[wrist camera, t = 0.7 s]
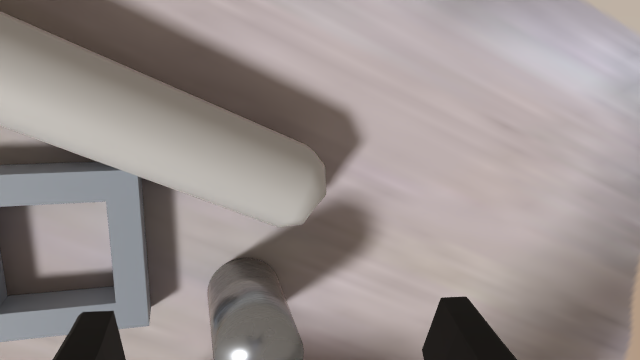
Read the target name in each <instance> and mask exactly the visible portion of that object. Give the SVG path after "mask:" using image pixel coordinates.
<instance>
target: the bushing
mask: <svg viewBox="0 0 640 360" xmlns="http://www.w3.org/2000/svg"><path fill="white" fill-rule="evenodd" d="M207 295H208V305H209V316H210V326H211V337H212V347H213V358H214V360H303V354H304V351H303V344H302V341H301V338H300V336H299V333H298V331H297V328H296V325H295V323H294V320H293V317H292V315H291V312H290V309H289V307H288V304H287V302H286V299H285V296H284V294H283V291H282V288H281V286H280V283H279V280H278V278H277V275H276V273H275V272H274V270H273V269H272V268H271V267H270V266H269V265H267V264H266V263H264V262H263V261H260V260H258V259H253V258H240V259H236V260H232V261H230V262H228V263H226V264H224V265H223V266H221V267H220V268H219V269H218V270H217V271H216V272H215V273H214V275H213V276H212V278H211V280H210V282H209V285H208V293H207Z"/></svg>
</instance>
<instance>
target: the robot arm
mask: <svg viewBox="0 0 640 360" xmlns="http://www.w3.org/2000/svg"><path fill="white" fill-rule="evenodd" d="M422 352H423V357H424V360H517V359H516V358H515V357H514V355H513V354H512V353H511V352H510V351H509V349H508V348H507V347H506V346H505V344H504V343H503V342H502V341H501V339H500V338H499V337H498V336H497V334H496V333H495V332H494V331H493V329H492V328H491V327H490V326H489V324H488V323H487V322H486V321H485V319H484V318H483V317H482V316H481V314H480V313H479V312H478V310H477V309H476V308H475V307H474V305H473V304H472V303H471V302H470V300H469V299H468V298H467V297H447V298H441V299H440V302H439V305H438V308H437V310H436V313H435V316H434V319H433V321H432V324H431V327H430V330H429V332H428V335H427V338H426V341H425V343H424V346H423V349H422ZM53 360H126V359H125V355H124V351H123V347H122V343H121V339H120V334H119V330H118V326H117V322H116V318H115V314H114V311H92V312H82V313H81V314H80V315H78V317H77V319H76V321H75V323H74V324H73V326H72V328H71V330H70V332H69V333H68V335H67V337H66V338H65V340H64V342H63V344H62V345H61V347H60V349H59V350H58V352H57V353H56V355H55V357H54V358H53Z"/></svg>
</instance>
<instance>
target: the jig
mask: <svg viewBox="0 0 640 360" xmlns="http://www.w3.org/2000/svg"><path fill="white" fill-rule="evenodd" d="M103 201H106V204H107V215H108V226H109V236H110V247H111V257H112V268H113V279H114V286H113V287H101V288H90V289H79V290H68V291H57V292H45V293H34V294H23V295H12V296H8V295H7V289H6V283H5V277H4V270H3V264H2V258H1V251H0V342H5V341H14V340H23V339H32V338H41V337H51V336H60V335H68V333H69V332H70V330H71V328H72V326H73V324H74V323H75V321H76V319H77V317H78V315H80V314H81V313H82V312H92V311H114V314H115V318H116V322H117V326H118V329H124V328H134V327H143V326H149V320H150V311H151V303H150V289H149V275H148V261H147V248H146V234H145V220H144V207H143V193H142V179H141V177H139V176H136V175H133V174H130V173H128V172H125V171H122V170H119V169H117V168H114V167H111V166H108V165H106V164H103V163H100V162H73V163H43V164H13V165H0V207H6V206H25V205H45V204H64V203H84V202H103Z"/></svg>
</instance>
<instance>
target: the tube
mask: <svg viewBox="0 0 640 360" xmlns="http://www.w3.org/2000/svg"><path fill="white" fill-rule="evenodd" d="M0 126H1V127H4V128H7V129H10V130H12V131H15V132H18V133H21V134H23V135H26V136H29V137H32V138H34V139H37V140H40V141H43V142H45V143H48V144H51V145H54V146H56V147H59V148H62V149H65V150H67V151H70V152H73V153H75V154H78V155H81V156H84V157H86V158H89V159H92V160H95V161H97V162H100V163H103V164H106V165H108V166H111V167H114V168H117V169H119V170H122V171H125V172H128V173H130V174H133V175H136V176H139V177H141V178H144V179H147V180H150V181H152V182H155V183H158V184H161V185H163V186H166V187H169V188H172V189H174V190H177V191H180V192H182V193H185V194H188V195H191V196H193V197H196V198H199V199H202V200H204V201H207V202H210V203H213V204H215V205H218V206H221V207H224V208H226V209H229V210H232V211H235V212H237V213H240V214H243V215H246V216H248V217H251V218H254V219H257V220H259V221H262V222H265V223H268V224H270V225H273V226H276V227H286V226H295V225H303V224H304V222H305V221H306V219H307V218H308V216H309V215H310V214H311V213H312V211H313V210H314V209H315V208H316V206H317V205H318V204H319V203H320V201H321V200H322V199H323V198H324V196H325V195H326V172H325V166H324V163H323V162H322V161H321V160H320V159H319V157H318V156H317V154H316V153H315V152H314V151H313V150H312V149H311V148H310V147H309V146H308V145H306V144H303V143H301V142H299V141H297V140H294V139H292V138H290V137H287V136H285V135H283V134H281V133H278V132H276V131H274V130H271V129H269V128H267V127H264V126H262V125H260V124H258V123H255V122H253V121H251V120H248V119H246V118H244V117H242V116H239V115H237V114H235V113H232V112H230V111H228V110H226V109H223V108H221V107H219V106H216V105H214V104H212V103H209V102H207V101H205V100H203V99H200V98H198V97H196V96H193V95H191V94H189V93H187V92H184V91H182V90H180V89H177V88H175V87H173V86H171V85H168V84H166V83H164V82H161V81H159V80H157V79H154V78H152V77H150V76H148V75H145V74H143V73H141V72H138V71H136V70H134V69H132V68H129V67H127V66H125V65H122V64H120V63H118V62H116V61H113V60H111V59H109V58H106V57H104V56H102V55H100V54H97V53H95V52H93V51H90V50H88V49H86V48H83V47H81V46H79V45H77V44H74V43H72V42H70V41H67V40H65V39H63V38H61V37H58V36H56V35H54V34H51V33H49V32H47V31H45V30H42V29H40V28H38V27H35V26H33V25H31V24H28V23H26V22H24V21H22V20H19V19H17V18H15V17H12V16H10V15H8V14H6V13H3V12H1V11H0Z"/></svg>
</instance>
